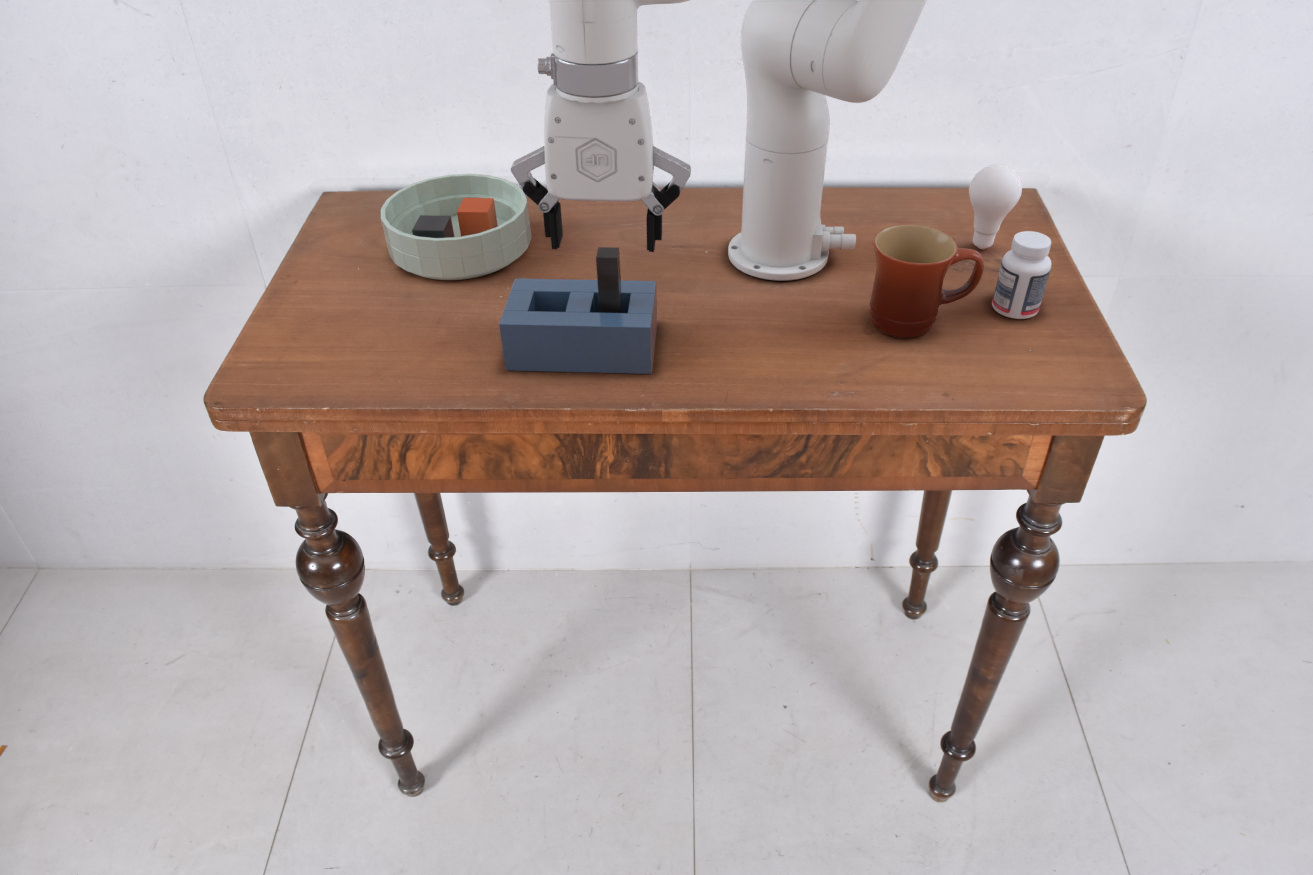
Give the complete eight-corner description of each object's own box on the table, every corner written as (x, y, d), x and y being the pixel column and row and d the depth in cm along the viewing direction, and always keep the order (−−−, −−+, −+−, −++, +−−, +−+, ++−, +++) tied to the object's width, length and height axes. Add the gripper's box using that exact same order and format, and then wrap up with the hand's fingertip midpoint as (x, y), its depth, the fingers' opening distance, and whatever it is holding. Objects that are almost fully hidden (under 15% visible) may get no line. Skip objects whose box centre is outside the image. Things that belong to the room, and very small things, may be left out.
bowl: (541, 215, 127) (537, 174, 123) (517, 285, 113) (512, 241, 109) (411, 213, 128) (403, 172, 124) (372, 282, 114) (361, 239, 110)
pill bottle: (1039, 300, 109) (1059, 231, 103) (1037, 323, 105) (1058, 254, 99) (992, 292, 110) (1009, 225, 104) (989, 316, 106) (1007, 247, 101)
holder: (520, 323, 107) (514, 278, 103) (657, 326, 106) (656, 280, 102) (505, 370, 100) (498, 324, 96) (651, 374, 99) (650, 327, 95)
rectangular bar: (623, 343, 104) (619, 247, 96) (622, 354, 102) (617, 258, 94) (604, 342, 104) (598, 247, 96) (602, 354, 102) (595, 257, 94)
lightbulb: (953, 255, 117) (971, 173, 110) (960, 233, 121) (978, 153, 114) (1003, 263, 115) (1024, 180, 108) (1008, 241, 119) (1029, 160, 112)
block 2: (497, 226, 123) (493, 198, 121) (491, 240, 120) (487, 212, 118) (468, 225, 124) (463, 197, 121) (461, 240, 121) (456, 211, 118)
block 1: (455, 243, 120) (450, 215, 117) (448, 259, 117) (443, 230, 114) (425, 243, 120) (419, 215, 118) (417, 258, 117) (411, 230, 114)
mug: (864, 344, 102) (877, 262, 96) (858, 302, 109) (870, 222, 102) (975, 349, 101) (995, 267, 95) (963, 306, 108) (981, 226, 101)
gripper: (492, 85, 81) (513, 260, 92) (691, 89, 80) (687, 265, 91) (508, 57, 86) (526, 225, 97) (694, 60, 86) (690, 229, 96)
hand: (604, 244), depth 94 cm, fingers open, 9 cm apart
